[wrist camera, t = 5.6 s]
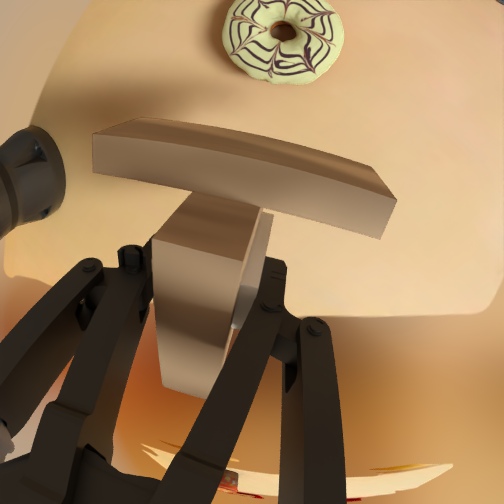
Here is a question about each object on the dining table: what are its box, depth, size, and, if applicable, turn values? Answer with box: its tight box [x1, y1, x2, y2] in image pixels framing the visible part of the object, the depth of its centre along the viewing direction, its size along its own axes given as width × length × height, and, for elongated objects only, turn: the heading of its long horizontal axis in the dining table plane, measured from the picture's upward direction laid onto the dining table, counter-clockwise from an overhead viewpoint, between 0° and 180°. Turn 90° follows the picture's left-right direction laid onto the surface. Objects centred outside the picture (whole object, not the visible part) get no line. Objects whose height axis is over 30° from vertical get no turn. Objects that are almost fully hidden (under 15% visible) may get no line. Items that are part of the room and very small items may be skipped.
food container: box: [217, 470, 238, 493], centre depth 102 cm, size 16×16×11 cm
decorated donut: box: [222, 0, 344, 85], centre depth 20 cm, size 10×11×4 cm
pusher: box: [92, 117, 397, 399], centre depth 15 cm, size 12×14×9 cm
